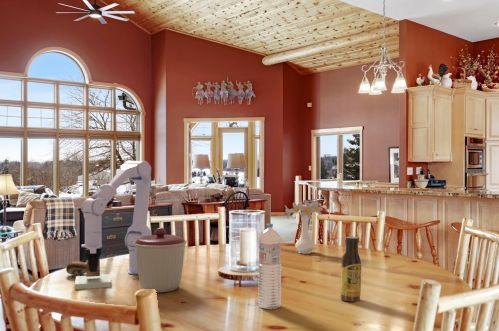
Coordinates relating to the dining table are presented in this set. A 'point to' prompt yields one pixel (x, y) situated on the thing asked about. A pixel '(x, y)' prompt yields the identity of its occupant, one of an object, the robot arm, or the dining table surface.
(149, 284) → the canister
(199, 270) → the dining table surface
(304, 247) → the flower vase
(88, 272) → the walnut block
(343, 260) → the sauce bottle
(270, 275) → the water bottle
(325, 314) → the dining table surface
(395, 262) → the dining table surface
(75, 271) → the mushroom
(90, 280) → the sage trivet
